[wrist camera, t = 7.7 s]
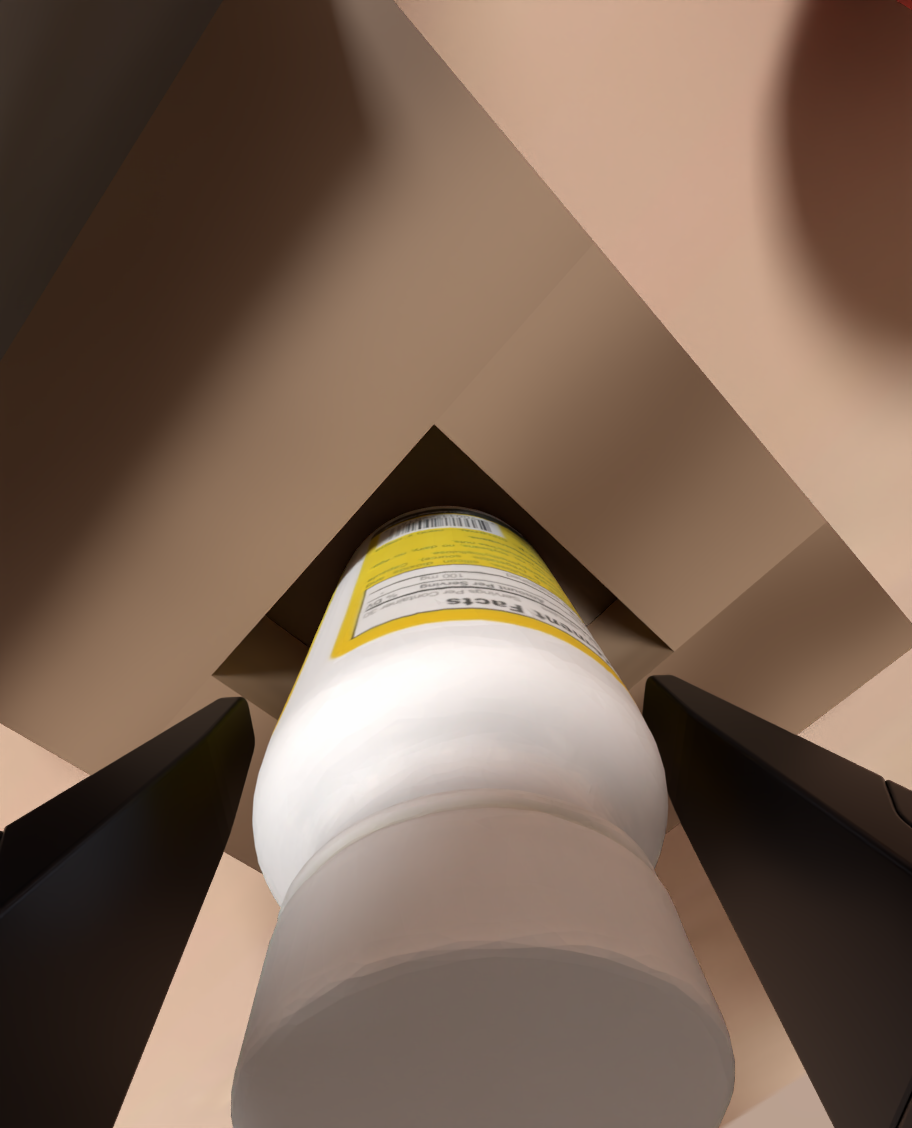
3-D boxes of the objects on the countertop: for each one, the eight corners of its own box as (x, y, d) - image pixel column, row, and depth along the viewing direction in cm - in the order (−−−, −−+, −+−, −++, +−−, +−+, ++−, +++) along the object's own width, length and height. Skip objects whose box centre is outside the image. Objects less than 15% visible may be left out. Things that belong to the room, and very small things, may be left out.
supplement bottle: (448, 727, 14) (474, 1337, 5) (296, 606, 13) (-36, 1155, 4) (594, 600, 13) (958, 1098, 4) (445, 452, 12) (484, 703, 3)
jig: (820, 584, 13) (1104, 732, 8) (456, 884, 16) (468, 1146, 11) (245, -70, 9) (-101, -895, 3) (-112, 517, 12) (-612, 642, 6)
